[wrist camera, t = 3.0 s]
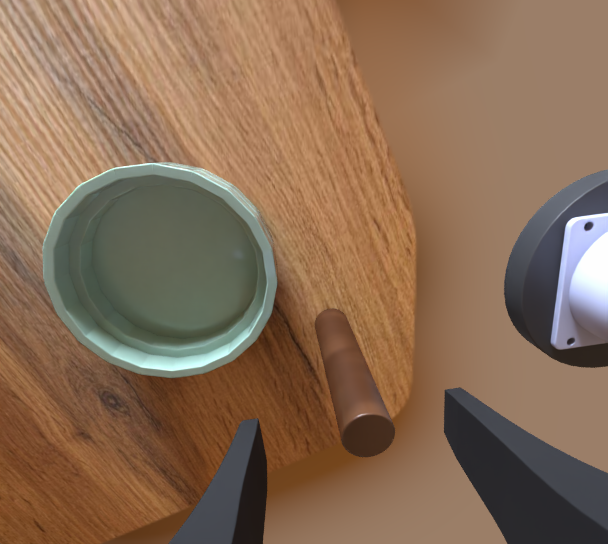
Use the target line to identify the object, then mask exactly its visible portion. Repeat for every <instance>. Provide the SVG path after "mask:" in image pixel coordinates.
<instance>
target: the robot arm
mask: <svg viewBox="0 0 608 544" xmlns="http://www.w3.org/2000/svg"><path fill="white" fill-rule="evenodd" d="M586 223H587V226H586V228H585V229H584V226H585V224H586ZM568 339H569V340H568ZM602 343H608V213H604V214H597V215H589V216H582V217H575V218H572V219H571V220H569V221H568V223H567V224H566V228H565V235H564V243H563V250H562V258H561V266H560V273H559V281H558V289H557V296H556V304H555V312H554V319H553V327H552V335H551V345H552V346H553V347H555V348H556V349H558V350H562V349H569V348H576V347H582V346H589V345H596V344H602ZM444 433H445V435H446V437H447V440H448V442H449V444H450V446H451V448H452V450H453V452H454V454H455V456H456V458H457V460H458V462H459V463H460V465H461V467H462V468H463V470H464V472H465V473H466V475H467V477H468V478H469V480H470V481H471V483H472V485H473V486H474V488H475V489H476V491H477V492H478V494H479V496H480V497H481V499H482V501H483V502H484V504H485V505H486V507H487V509H488V510H489V512H490V513H491V515H492V516H493V518H494V520H495V522H496V523H497V525H498V527H499V529H500V530H501V532H502V534H503V536H504V538H505V540H506V542H507V544H608V473H606V472H604V471H601V470H599V469H597V468H595V467H593V466H590V465H588V464H586V463H584V462H582V461H580V460H578V459H576V458H574V457H571V456H570V455H568V454H566V453H564V452H562V451H560V450H558V449H556V448H554V447H553V446H551V445H549V444H547V443H545V442H544V441H542V440H540V439H538V438H537V437H535V436H533V435H532V434H530V433H528V432H526V431H525V430H523V429H522V428H520V427H518V426H517V425H515V424H514V423H512V422H511V421H509V420H508V419H506V418H505V417H503V416H501V415H500V414H498V413H497V412H495V411H494V410H493V409H491V408H490V407H488V406H487V405H485V404H484V403H482V402H481V401H479V400H478V399H477V398H475V397H474V396H472V395H470V394H469V393H468V392H466V391H465V390H463V389H462V388H454V389H447V390H445V409H444ZM266 498H267V459H266V454H265V449H264V444H263V439H262V434H261V429H260V424H259V419H258V418H257V419H250V420H244V421H242V422H241V423H240V425H239V427H238V430H237V432H236V434H235V437H234V439H233V441H232V443H231V445H230V447H229V450H228V452H227V454H226V455H225V457H224V459H223V461H222V463H221V465H220V467H219V469H218V471H217V473H216V474H215V476H214V478H213V479H212V481H211V483H210V485H209V486H208V488H207V490H206V491H205V493H204V495H203V496H202V498H201V499H200V501H199V502H198V504H197V505H196V507H195V509H194V510H193V511H192V513H191V514H190V516H189V517H188V519H187V520H186V521H185V523H184V524H183V525H182V527H181V528H180V529H179V531H178V532H177V533H176V535H175V536H174V537H173V539H172V540H171V541H170V542H169V544H263V533H264V521H265V510H266Z"/></svg>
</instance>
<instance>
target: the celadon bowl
mask: <svg viewBox="0 0 608 544" xmlns="http://www.w3.org/2000/svg"><path fill="white" fill-rule="evenodd" d="M43 277H44V283H45V286H46V288H47V291H48V293H49V296H50V299H51V301H52V304H53V306H54V309H55V311H56V313H57V315H58V316H59V318H60V319H61V320H62V321H63V323H64V324H65V325H66V326H67V328H68V329H69V330H70V331H71V333H72V334H73V335H74V336H75V338H76V339H77V340H78V341H79V342H80V343H81V344H83V345H84V346H85V347H87V348H88V349H90V350H91V351H92V352H94V353H95V354H96V355H98V356H99V357H101V358H102V359H103V360H105V361H106V362H107V361H108V363H111V364H113V365H116V366H119V367H121V368H124V369H126V370H129V371H132V372H134V373H137V374H140V375H148V376H157V377H165V378H179V377H186V376H192V375H199V374H204V373H208V372H210V371H212V370H214V369H216V368H219V367H221V366H223V365H225V364H228V363H230V362H232V361H233V360H235V359H236V358H237V357H238V356H239V355H241V354H242V353H243V352H244V351H245V350H246V349H247V348H249V347H250V346H251V345H252V344H253V343H254V342H255V341H256V340H257V339H258V337H259V335H260V334H261V332H262V330H263V328H264V327H265V325H266V323H267V321H268V320H269V318H270V316H271V314H272V311H273V305H274V300H275V294H276V289H277V262H276V256H275V249H274V242H273V239H272V236H271V234H270V232H269V230H268V228H267V226H266V224H265V222H264V220H263V218H262V216H261V214H260V212H259V211H258V209H257V208H256V207H255V206H254V205H253V204H252V203H251V202H250V201H249V200H248V199H247V198H246V197H245V196H244V195H243V194H242V193H241V192H240V191H239V190H238V188H237V187H234V185H233V184H231V183H229V182H227V181H225V180H223V179H222V178H220V177H218V176H216V175H214V174H212V173H211V172H209V171H207V170H204V169H202V168H197V167H192V166H187V165H182V164H177V163H172V162H163V163H149V164H141V165H133V166H125V167H117V168H113V169H110V170H108V171H106V172H104V173H102V174H100V175H98V176H96V177H94V178H92V179H90V180H88V181H86V182H84V183H82V184H80V185H79V186H78V187H77V188H76V189H75V190H74V191H73V192H72V193H71V195H70V196H69V197H68V198H67V199H66V200H65V201H64V202H63V203H62V205H61V206H60V207H59V208H58V209H57V210H56V211H55V213H54V215H53V218H52V221H51V224H50V226H49V229H48V232H47V235H46V238H45V240H44V243H43Z"/></svg>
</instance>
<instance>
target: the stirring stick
mask: <svg viewBox="0 0 608 544" xmlns="http://www.w3.org/2000/svg"><path fill="white" fill-rule="evenodd" d="M315 329H316V333H317V338H318V342H319V346H320V351H321V355H322V359H323V364H324V368H325V372H326V377H327V381H328V385H329V389H330V394H331V398H332V402H333V407H334V411H335V415H336V420H337V424H338V428H339V433H340V437H341V441H342V444H343V446H344V447H345V449H346V450H347V451H348V452H349V453H351V454H353V455H355V456H359V457H371V456H375V455H377V454H380V453H382V452H383V451H385V450H386V449H387V448H388V447H389V446H390V445H391V443H392V441H393V439H394V435H395V428H394V425H393V423H392V420H391V418H390V416H389V413H388V411H387V409H386V407H385V404H384V402H383V400H382V397H381V395H380V393H379V391H378V388H377V386H376V384H375V382H374V379H373V377H372V375H371V372H370V370H369V368H368V366H367V363H366V361H365V359H364V356H363V354H362V352H361V350H360V347H359V345H358V343H357V340H356V338H355V336H354V334H353V331H352V329H351V327H350V324H349V322H348V320H347V318H346V316H345V314H344V313H343V312H341V311H340V310H337V309H327V310H324V311H323V312H321V313H320V314H319V315H318V316H317V318H316V320H315Z"/></svg>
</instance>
